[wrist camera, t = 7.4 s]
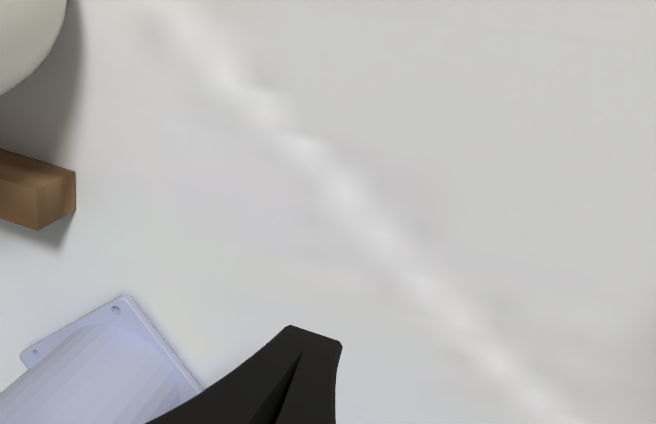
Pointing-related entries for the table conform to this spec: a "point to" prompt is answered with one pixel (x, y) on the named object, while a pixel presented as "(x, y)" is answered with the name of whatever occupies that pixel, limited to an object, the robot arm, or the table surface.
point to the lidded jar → (26, 37)
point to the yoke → (34, 191)
